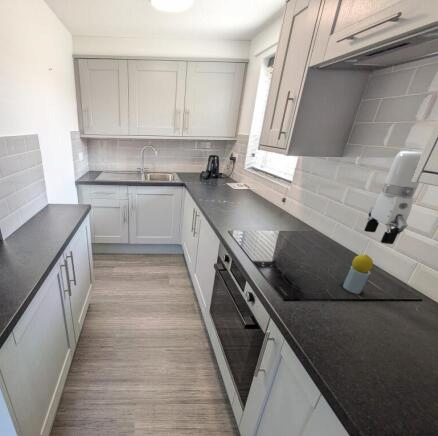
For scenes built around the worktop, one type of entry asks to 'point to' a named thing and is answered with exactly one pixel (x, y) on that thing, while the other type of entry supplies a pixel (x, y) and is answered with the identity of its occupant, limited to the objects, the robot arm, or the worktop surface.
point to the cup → (355, 281)
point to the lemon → (362, 263)
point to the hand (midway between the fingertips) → (377, 237)
